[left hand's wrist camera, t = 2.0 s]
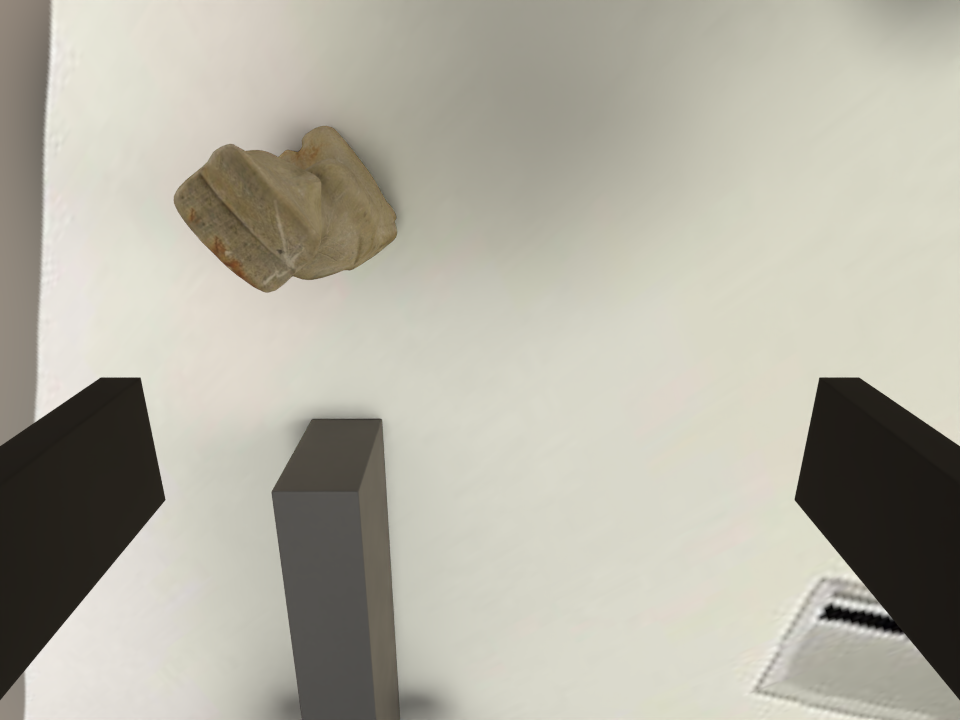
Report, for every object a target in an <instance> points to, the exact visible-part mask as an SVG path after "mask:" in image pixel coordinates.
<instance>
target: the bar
mask: <svg viewBox="0 0 960 720" xmlns="http://www.w3.org/2000/svg"><path fill="white" fill-rule="evenodd" d="M272 499H273V506H274V514H275V521H276V529H277V536H278V544H279V551H280V559H281V566H282V573H283V581H284V588H285V596H286V603H287V611H288V618H289V626H290V633H291V640H292V648H293V655H294V663H295V670H296V678H297V685H298V693H299V700H300V707H301V715H302V720H400V712H399V695H398V678H397V662H396V645H395V628H394V612H393V595H392V579H391V562H390V545H389V529H388V512H387V496H386V479H385V462H384V446H383V429H382V420H381V419H313V420H311V422H310V424H309V426H308V428H307V429H306V431H305V433H304V435H303V437H302V438H301V440H300V442H299V444H298V446H297V447H296V449H295V451H294V453H293V454H292V456H291V458H290V460H289V462H288V463H287V465H286V467H285V469H284V471H283V472H282V474H281V476H280V478H279V480H278V481H277V483H276V485H275V487H274V488H273V490H272Z"/></svg>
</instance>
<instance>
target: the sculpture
mask: <svg viewBox="0 0 960 720" xmlns="http://www.w3.org/2000/svg"><path fill="white" fill-rule="evenodd" d="M174 204H175V206H176V208H177V210H178V212H179V214H180V215H181V217H182V218H183V220H184V221H185V222H186V224H187V225H188V226H189V227H190V229H191V230H192V231H193V232H194V233H195V235H196V236H197V237H198V238H199V239H200V240H201V242H202V243H203V244H204V245H205V246H207V247H208V248H209V249H210V250H211V251H212V252H213V253H214V254H215V255H216V256H217V257H218V258H219V259H220V261H221V262H223V263H224V264H225V265H226V266H227V267H228V268H229V269H230V270H231V271H233V272H234V273H235V274H236V275H238V276H239V277H241V278H242V279H243V280H245V281H246V282H247V283H249V284H250V285H252V286H253V287H255V288H257V289H259V290H261V291H263V292H272V291H275V290H277V289H278V288H279V287H281V286H282V285H283V284H285V283H286V282H287V281H288V280H289V279H290V278H291V277H292V276H294V277H297V278H300V279H305V280H313V279H318V278H323V277H326V276H329V275H332V274H335V273H338V272H340V271H343V270H352V269H354V268H356V267H358V266H360V265H361V264H362V263H364V262H366V261H367V260H369V259H370V258H372V257H373V256H375V255H376V254H377V253H379V252H380V251H381V250H382V249H383V248H385V247H386V246H387V245H388V244H390V243H391V242H392V241H393V240H394V239H395V238H396V235H397V229H396V225H395V222H394V221H395V220H396V215H395V212H394V211H393V209H392V207H391V206H390V205H389V204H388V203H387V202H386V200H385V198H384V197H383V195H382V193H381V191H380V189H379V188H378V186H377V184H376V182H375V180H374V179H373V177H372V176H371V174H370V173H369V171H368V170H367V169H366V167H365V166H364V165H363V163H362V162H361V161H360V159H359V158H358V157H357V155H356V154H355V153H354V151H353V150H352V149H351V148H350V146H349V145H348V144H347V143H346V142H345V140H344V139H343V138H342V137H341V136H340V135H339V133H338V132H337V131H336V130H335V129H333V128H332V127H328V126H321V127H318V128H315V129H313V130H312V131H310V132H309V133H307V134H306V135H305V136H304V137H303V139H302V148H301V150H300V151H299V152H295V151H290V150H286V151H284V152H283V153H282V154H281V155H280V156H279V157H277V156H275V155H273V154H271V153H269V152H265V151H260V150H250V151H244V150H242V149H241V148H239V147H237V146H235V145H233V144H228V145H225V146H222V147H220V148H219V149H217V150H216V151H214V152H213V154H212V155H211V157H210V159H209V160H208V162H207V163H206V164H205V165H204V166H203V167H202V168H200V169H199V170H198V171H197V172H196V173H194V174H193V175H192V176H191V177H189V178H188V179H187V180H186V181H185V182H184V183H183V184H182V185H181V186H180V187H179V188H178V190H177V191H176V193H175V195H174Z"/></svg>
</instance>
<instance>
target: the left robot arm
mask: <svg viewBox="0 0 960 720" xmlns="http://www.w3.org/2000/svg"><path fill="white" fill-rule="evenodd" d="M164 501H165V495H164V490H163V485H162V481H161V476H160V471H159V466H158V461H157V456H156V451H155V446H154V441H153V437H152V432H151V427H150V422H149V417H148V412H147V407H146V402H145V397H144V392H143V388H142V383H141V378H100V379H98V380H97V381H95V382H94V383H92V384H91V385H89V386H88V387H86V388H85V389H83V390H82V391H80V392H79V393H78V394H76V395H75V396H73V397H72V398H70V399H69V400H67V401H66V402H64V403H63V404H61V405H60V406H59V407H57V408H56V409H54V410H53V411H51V412H50V413H48V414H47V415H45V416H44V417H42V418H41V419H39V420H38V421H37V422H35V423H34V424H32V425H31V426H29V427H28V428H26V429H25V430H23V431H22V432H20V433H19V434H18V435H16V436H15V437H13V438H12V439H10V440H9V441H7V442H6V443H4V444H3V445H1V446H0V700H1V698H2V697H3V696H4V695H5V694H6V692H7V691H8V690H9V689H10V688H11V686H12V685H13V684H14V683H15V682H16V680H17V679H18V678H19V677H20V675H21V674H22V673H23V672H24V671H25V669H26V668H27V667H28V666H29V665H30V663H31V662H32V661H33V660H34V659H35V657H36V656H37V655H38V654H39V652H40V651H41V650H42V649H43V648H44V646H45V645H46V644H47V643H48V642H49V640H50V639H51V638H52V637H53V636H54V634H55V633H56V632H57V631H58V629H59V628H60V627H61V626H62V625H63V623H64V622H65V621H66V620H67V619H68V617H69V616H70V615H71V614H72V612H73V611H74V610H75V609H76V608H77V606H78V605H79V604H80V603H81V602H82V600H83V599H84V598H85V597H86V596H87V594H88V593H89V592H90V591H91V589H92V588H93V587H94V586H95V585H96V583H97V582H98V581H99V580H100V579H101V577H102V576H103V575H104V574H105V573H106V571H107V570H108V569H109V568H110V566H111V565H112V564H113V563H114V562H115V560H116V559H117V558H118V557H119V556H120V554H121V553H122V552H123V551H124V549H125V548H126V547H127V546H128V545H129V543H130V542H131V541H132V540H133V539H134V537H135V536H136V535H137V534H138V533H139V531H140V530H141V529H142V528H143V526H144V525H145V524H146V523H147V522H148V520H149V519H150V518H151V517H152V516H153V514H154V513H155V512H156V511H157V510H158V508H159V507H160V506H161V505H162V503H163V502H164ZM795 501H796V502H797V503H798V505H799V506H800V507H801V508H802V510H803V511H804V512H805V513H806V514H807V516H808V517H809V518H810V519H811V520H812V522H813V523H814V524H815V525H816V526H817V528H818V529H819V530H820V531H821V533H822V534H823V535H824V536H825V537H826V539H827V540H828V541H829V542H830V543H831V545H832V546H833V547H834V548H835V549H836V551H837V552H838V553H839V554H840V556H841V557H842V558H843V559H844V560H845V562H846V563H847V564H848V565H849V566H850V568H851V569H852V570H853V571H854V573H855V574H856V575H857V576H858V577H859V579H860V580H861V581H862V582H863V583H864V585H865V586H866V587H867V588H868V589H869V591H870V592H871V593H872V594H873V596H874V597H875V598H876V599H877V600H878V602H879V603H880V604H881V605H882V606H883V608H884V609H885V610H886V611H887V612H888V614H889V615H890V616H891V617H892V619H893V620H894V621H895V622H896V623H897V625H898V626H899V627H900V628H901V629H902V631H903V632H904V633H905V634H906V636H907V637H908V638H909V639H910V640H911V642H912V643H913V644H914V645H915V646H916V648H917V649H918V650H919V651H920V652H921V654H922V655H923V656H924V657H925V659H926V660H927V661H928V662H929V663H930V665H931V666H932V667H933V668H934V669H935V671H936V672H937V673H938V674H939V675H940V677H941V678H942V679H943V680H944V682H945V683H946V684H947V685H948V686H949V688H950V689H951V690H952V691H953V692H954V694H955V695H956V696H957V697H958V698H959V700H960V446H959V445H957V444H956V443H954V442H953V441H951V440H950V439H948V438H947V437H945V436H944V435H943V434H941V433H940V432H938V431H937V430H935V429H934V428H932V427H931V426H929V425H928V424H926V423H925V422H923V421H922V420H921V419H919V418H918V417H916V416H915V415H913V414H912V413H910V412H909V411H907V410H906V409H904V408H903V407H901V406H900V405H899V404H897V403H896V402H894V401H893V400H891V399H890V398H888V397H887V396H885V395H884V394H882V393H881V392H880V391H878V390H877V389H875V388H874V387H872V386H871V385H869V384H868V383H866V382H865V381H863V380H862V379H860V378H819V383H818V388H817V392H816V397H815V402H814V407H813V412H812V417H811V422H810V427H809V432H808V437H807V441H806V446H805V451H804V456H803V461H802V466H801V471H800V476H799V481H798V485H797V490H796V495H795Z"/></svg>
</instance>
